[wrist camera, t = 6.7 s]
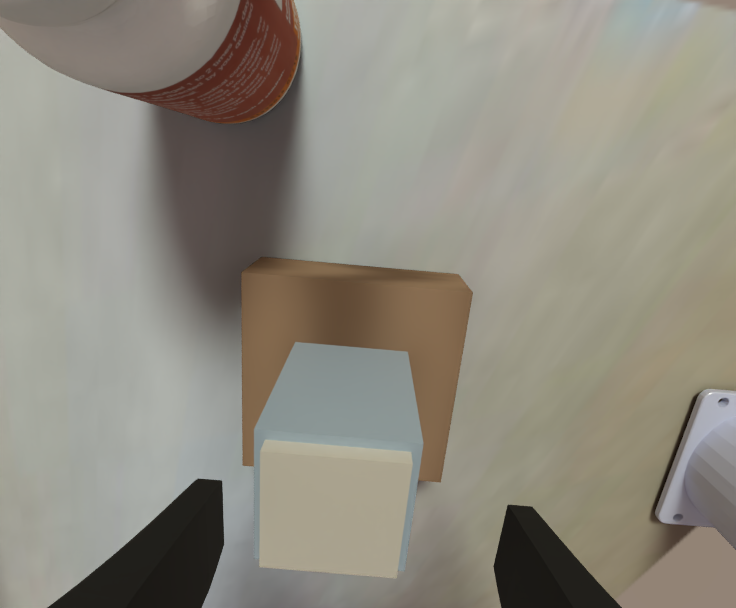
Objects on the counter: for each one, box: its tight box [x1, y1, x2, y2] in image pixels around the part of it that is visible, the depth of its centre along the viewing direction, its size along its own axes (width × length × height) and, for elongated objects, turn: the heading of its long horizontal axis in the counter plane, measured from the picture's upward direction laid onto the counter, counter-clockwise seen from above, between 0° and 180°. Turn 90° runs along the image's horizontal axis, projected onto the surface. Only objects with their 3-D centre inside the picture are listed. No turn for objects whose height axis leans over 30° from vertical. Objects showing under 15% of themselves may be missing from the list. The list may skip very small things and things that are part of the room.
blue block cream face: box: [254, 342, 424, 578], centre depth 15 cm, size 5×5×6 cm
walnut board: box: [241, 257, 473, 482], centre depth 19 cm, size 9×9×3 cm
